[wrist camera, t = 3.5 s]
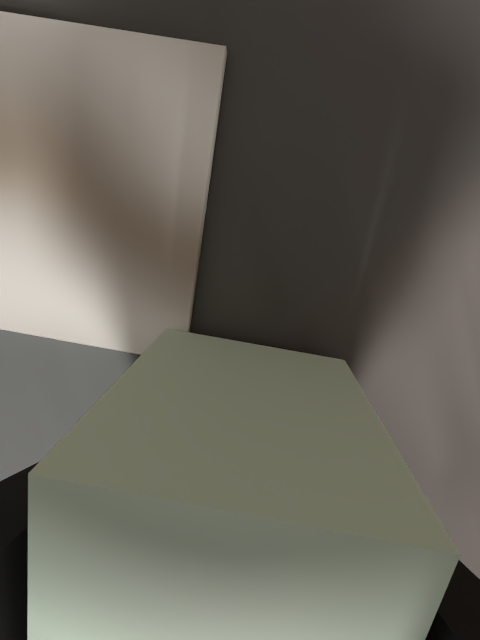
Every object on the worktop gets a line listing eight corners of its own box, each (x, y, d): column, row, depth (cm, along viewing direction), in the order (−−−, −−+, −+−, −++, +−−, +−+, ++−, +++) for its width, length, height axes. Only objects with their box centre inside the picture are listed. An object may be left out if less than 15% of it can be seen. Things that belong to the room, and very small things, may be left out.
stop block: (299, 533, 11) (336, 850, 6) (146, 504, 11) (27, 786, 6) (344, 360, 10) (461, 555, 4) (166, 328, 10) (27, 474, 4)
